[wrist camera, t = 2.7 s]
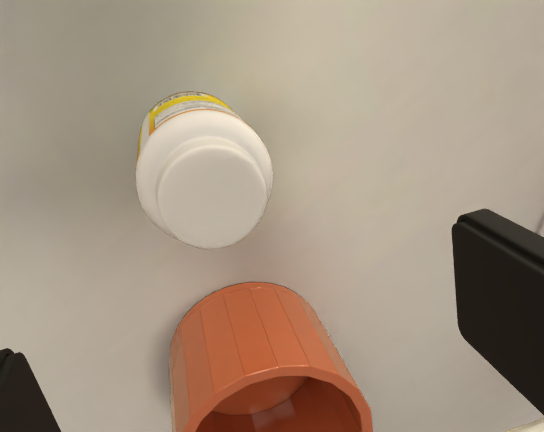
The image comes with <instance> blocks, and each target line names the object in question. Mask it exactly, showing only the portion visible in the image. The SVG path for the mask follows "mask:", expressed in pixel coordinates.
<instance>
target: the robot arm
mask: <svg viewBox="0 0 544 432" xmlns="http://www.w3.org/2000/svg"><path fill="white" fill-rule="evenodd" d="M452 243H453V258H454V273H455V288H456V303H457V318H458V327H459V330H460V332H461V334H462V336H463V338H464V339H465V340H466V341H467V342H468V343H469V344H470V345H471V346H472V347H473V348H474V349H475V350H476V351H477V352H478V353H480V354H481V355H482V356H483V357H484V358H485V359H486V360H487V361H488V362H489V363H490V364H491V365H492V366H493V367H494V368H495V369H496V370H497V371H498V372H499V373H500V374H501V375H502V376H503V377H505V378H506V379H507V380H508V381H509V382H510V383H511V384H512V385H513V386H514V387H515V388H516V389H517V390H518V391H519V392H520V393H521V394H522V395H523V396H524V397H525V398H526V399H527V400H528V401H530V402H531V403H532V404H533V405H534V406H535V407H536V408H537V409H538V410H539V411H540V412H541V413H542V414H543V415H544V238H543V237H542V236H540V235H538V234H536V233H534V232H532V231H530V230H528V229H526V228H524V227H522V226H520V225H518V224H516V223H514V222H512V221H510V220H508V219H506V218H504V217H502V216H500V215H498V214H496V213H494V212H492V211H490V210H488V209H481V210H477V211H474V212H471V213H467V214H464V215H460V216H459V218H458V220H457V223H456V224H454V225H453V227H452ZM0 432H61V430H60V428H59V426H58V424H57V422H56V420H55V418H54V416H53V414H52V412H51V409H50V407H49V405H48V403H47V401H46V399H45V397H44V395H43V393H42V391H41V389H40V387H39V384H38V382H37V380H36V378H35V376H34V374H33V372H32V370H31V368H30V366H29V364H28V362H27V359H26V358H25V356H24V355H23V354H22V353H20V352H19V353H15V354H14V352H13V351H12V350H11V349H8V348H6V349H3V350H0ZM506 432H544V418H542V419H539V420H536V421H533V422H531V423H528V424H525V425H522V426H519V427H517V428H514V429H511V430H508V431H506Z"/></svg>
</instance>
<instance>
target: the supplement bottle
mask: <svg viewBox="0 0 544 432" xmlns="http://www.w3.org/2000/svg"><path fill="white" fill-rule="evenodd" d="M135 179H136V188H137V193H138V197H139V200H140V203H141V205H142V207H143V209H144V211H145V213H146V214H147V216H148V217H149V218H150V220H151V221H152V222H153V223H154V224H155V225H156V226H157V227H158V228H159V229H161V230H162V231H163V232H165V233H166V234H168V235H170V236H172V237H174V238H176V239H178V240H180V241H182V242H184V243H186V244H188V245H190V246H193V247H196V248H202V249H218V248H224V247H228V246H231V245H233V244H235V243H237V242H239V241H241V240H242V239H244V238H245V237H246V236H248V235H249V234H250V233H251V232H252V231H253V230H254V228H255V227H256V226H257V224H258V223H259V221H260V219H261V217H262V215H263V213H264V209H265V207H266V205H267V203H268V200H269V197H270V194H271V190H272V183H273V171H272V164H271V160H270V156H269V154H268V151H267V149H266V147H265V145H264V144H263V142H262V140H261V139H260V138H259V136H258V135H257V134H256V133H255V131H254V130H253V129H252V128H251V127H250V126H249V125H248V124H246V123H245V122H244V121H243V120H242V119H241V118H240V117H239V116H238V115H237V114H236V113H235V112H233V111H232V110H231V108H230V107H229V106H227V105H226V104H225V103H224V102H222V101H221V100H219V99H218V98H216V97H214V96H212V95H209V94H206V93H202V92H196V91H186V92H179V93H175V94H172V95H170V96H168V97H166V98H164V99H163V100H161V101H160V102H158V103H157V104H156V105H155V106H154V107H153V108H152V109H151V110H150V112H149V113H148V114H147V116H146V118H145V120H144V122H143V124H142V127H141V131H140V135H139V146H138V155H137V164H136V175H135Z"/></svg>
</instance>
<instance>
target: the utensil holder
mask: <svg viewBox="0 0 544 432" xmlns="http://www.w3.org/2000/svg"><path fill="white" fill-rule="evenodd" d="M169 382H170V403H171V423H172V432H373V427H372V417H371V410H370V407H369V406H368V404H367V402H366V400H365V398H364V397H363V395H362V393H361V391H360V390H359V388H358V386H357V384H356V383H355V381H354V379H353V378H352V376H351V374H350V372H349V371H348V369H347V367H346V365H345V364H344V362H343V360H342V358H341V357H340V355H339V353H338V351H337V350H336V348H335V346H334V344H333V343H332V341H331V339H330V337H329V336H328V334H327V332H326V330H325V329H324V327H323V325H322V324H321V322H320V320H319V318H318V317H317V315H316V313H315V311H314V310H313V309H312V307H311V306H310V305H309V303H308V302H307V301H305V300H304V299H303V298H302V297H301V296H299V295H298V294H297V293H295V292H293V291H291V290H289V289H287V288H285V287H282V286H279V285H275V284H270V283H261V282H251V283H242V284H236V285H233V286H229V287H226V288H223V289H221V290H219V291H216V292H214V293H212V294H211V295H209V296H207V297H205V298H204V299H203V300H201V301H200V302H199V303H197V304H196V305H195V306H194V307H193V308H192V309H191V310H190V311H189V312H188V313H187V314H186V315H185V317H184V318H183V319H182V321H181V322H180V324H179V325H178V327H177V329H176V331H175V333H174V335H173V339H172V342H171V346H170V352H169Z"/></svg>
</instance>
